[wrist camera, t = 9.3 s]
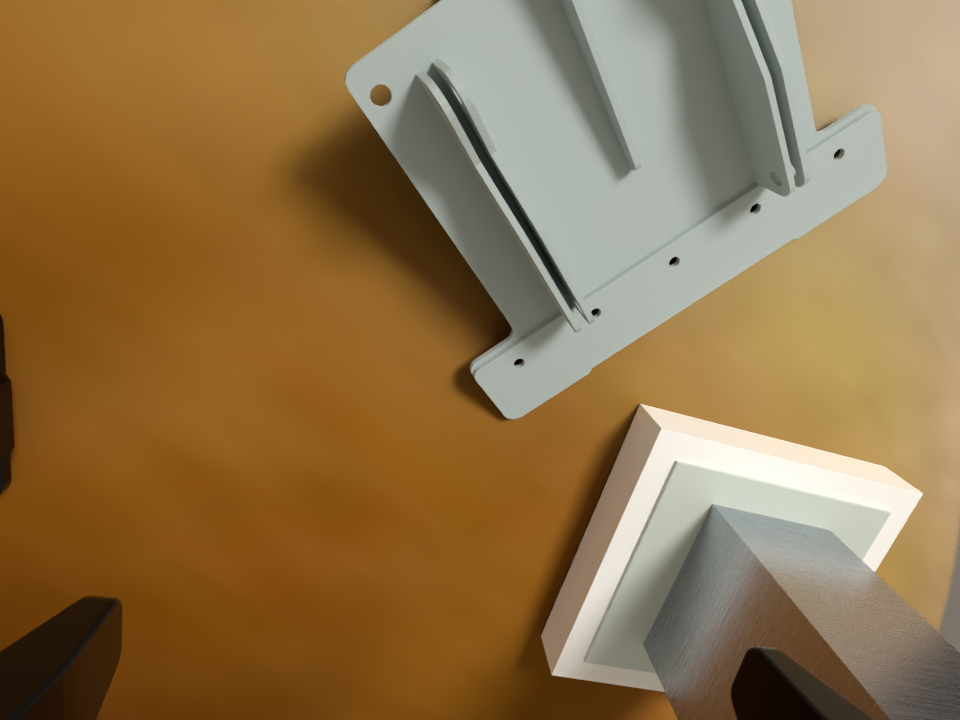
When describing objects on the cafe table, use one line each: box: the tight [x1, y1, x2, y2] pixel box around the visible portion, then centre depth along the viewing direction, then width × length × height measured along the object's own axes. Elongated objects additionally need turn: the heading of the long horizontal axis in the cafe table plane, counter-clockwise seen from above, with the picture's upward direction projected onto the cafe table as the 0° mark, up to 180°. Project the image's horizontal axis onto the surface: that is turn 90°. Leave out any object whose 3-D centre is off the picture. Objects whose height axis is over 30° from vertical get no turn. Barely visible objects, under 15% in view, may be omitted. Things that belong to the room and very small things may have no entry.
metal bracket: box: [345, 0, 887, 419], centre depth 19 cm, size 14×6×15 cm
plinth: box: [541, 404, 923, 692], centre depth 24 cm, size 11×11×2 cm
